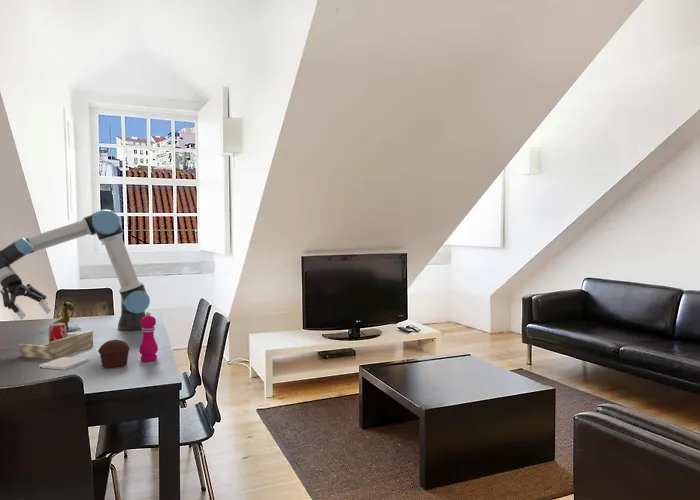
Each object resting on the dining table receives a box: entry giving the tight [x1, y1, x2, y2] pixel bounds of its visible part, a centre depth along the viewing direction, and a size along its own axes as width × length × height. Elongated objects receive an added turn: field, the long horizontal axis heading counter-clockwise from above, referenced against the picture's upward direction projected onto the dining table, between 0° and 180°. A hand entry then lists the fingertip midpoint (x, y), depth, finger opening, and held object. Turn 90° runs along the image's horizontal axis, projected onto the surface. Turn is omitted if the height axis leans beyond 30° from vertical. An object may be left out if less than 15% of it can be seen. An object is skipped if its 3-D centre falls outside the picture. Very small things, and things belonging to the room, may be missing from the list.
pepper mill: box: [138, 311, 159, 363], centre depth 210 cm, size 7×7×20 cm
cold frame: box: [18, 330, 94, 360], centre depth 224 cm, size 17×23×7 cm
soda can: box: [48, 322, 68, 346], centre depth 224 cm, size 7×7×12 cm
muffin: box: [97, 339, 131, 370], centre depth 202 cm, size 12×11×10 cm
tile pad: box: [38, 356, 89, 371], centre depth 204 cm, size 12×12×1 cm
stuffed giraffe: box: [39, 300, 82, 336], centre depth 266 cm, size 16×18×16 cm
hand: (36, 314), depth 226 cm, fingers open, 13 cm apart
